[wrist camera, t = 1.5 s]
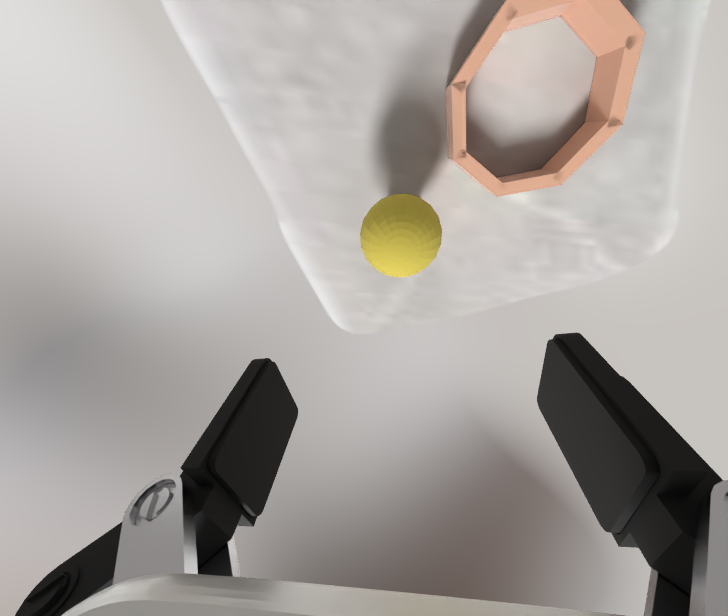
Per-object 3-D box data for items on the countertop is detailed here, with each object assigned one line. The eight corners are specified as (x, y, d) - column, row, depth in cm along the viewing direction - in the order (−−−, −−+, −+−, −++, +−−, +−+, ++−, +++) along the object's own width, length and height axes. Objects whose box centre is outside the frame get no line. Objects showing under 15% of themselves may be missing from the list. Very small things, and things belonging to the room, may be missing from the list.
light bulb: (361, 190, 27) (344, 215, 19) (429, 174, 26) (444, 192, 17) (375, 252, 30) (366, 297, 22) (436, 241, 29) (451, 284, 21)
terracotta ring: (443, 31, 20) (449, 17, 18) (628, -25, 18) (666, -51, 15) (449, 197, 26) (454, 204, 24) (587, 172, 24) (609, 176, 22)
